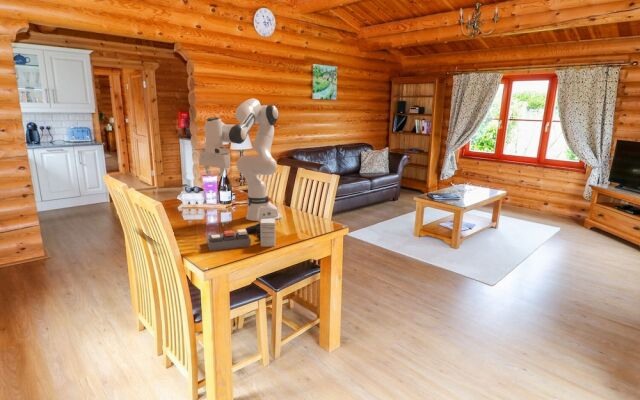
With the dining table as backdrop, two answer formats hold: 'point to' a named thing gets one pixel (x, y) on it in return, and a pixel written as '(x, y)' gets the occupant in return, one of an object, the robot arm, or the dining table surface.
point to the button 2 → (242, 231)
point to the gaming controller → (254, 230)
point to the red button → (229, 233)
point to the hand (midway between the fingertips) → (214, 175)
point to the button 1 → (215, 236)
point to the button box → (228, 241)
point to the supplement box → (267, 232)
